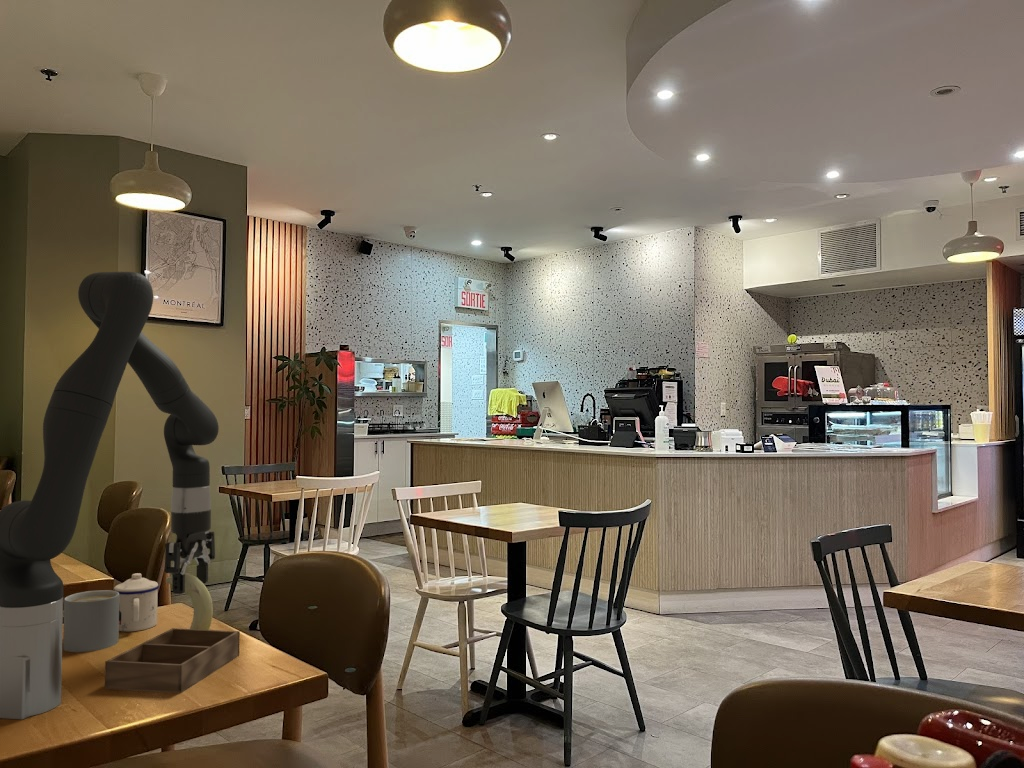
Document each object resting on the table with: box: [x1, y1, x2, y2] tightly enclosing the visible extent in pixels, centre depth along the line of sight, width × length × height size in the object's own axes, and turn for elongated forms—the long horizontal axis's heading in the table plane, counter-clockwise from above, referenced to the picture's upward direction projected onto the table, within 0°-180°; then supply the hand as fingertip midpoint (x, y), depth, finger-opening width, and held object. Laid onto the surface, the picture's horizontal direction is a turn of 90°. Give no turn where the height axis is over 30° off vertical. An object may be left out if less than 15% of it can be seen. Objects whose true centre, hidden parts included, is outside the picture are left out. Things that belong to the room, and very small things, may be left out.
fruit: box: [165, 572, 214, 630], centre depth 154 cm, size 7×15×3 cm
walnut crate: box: [104, 628, 241, 694], centre depth 139 cm, size 20×14×5 cm
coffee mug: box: [62, 589, 120, 653], centre depth 157 cm, size 13×10×10 cm
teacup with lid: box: [112, 572, 160, 633], centre depth 167 cm, size 12×9×12 cm
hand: (190, 587), depth 154 cm, fingers open, 8 cm apart
